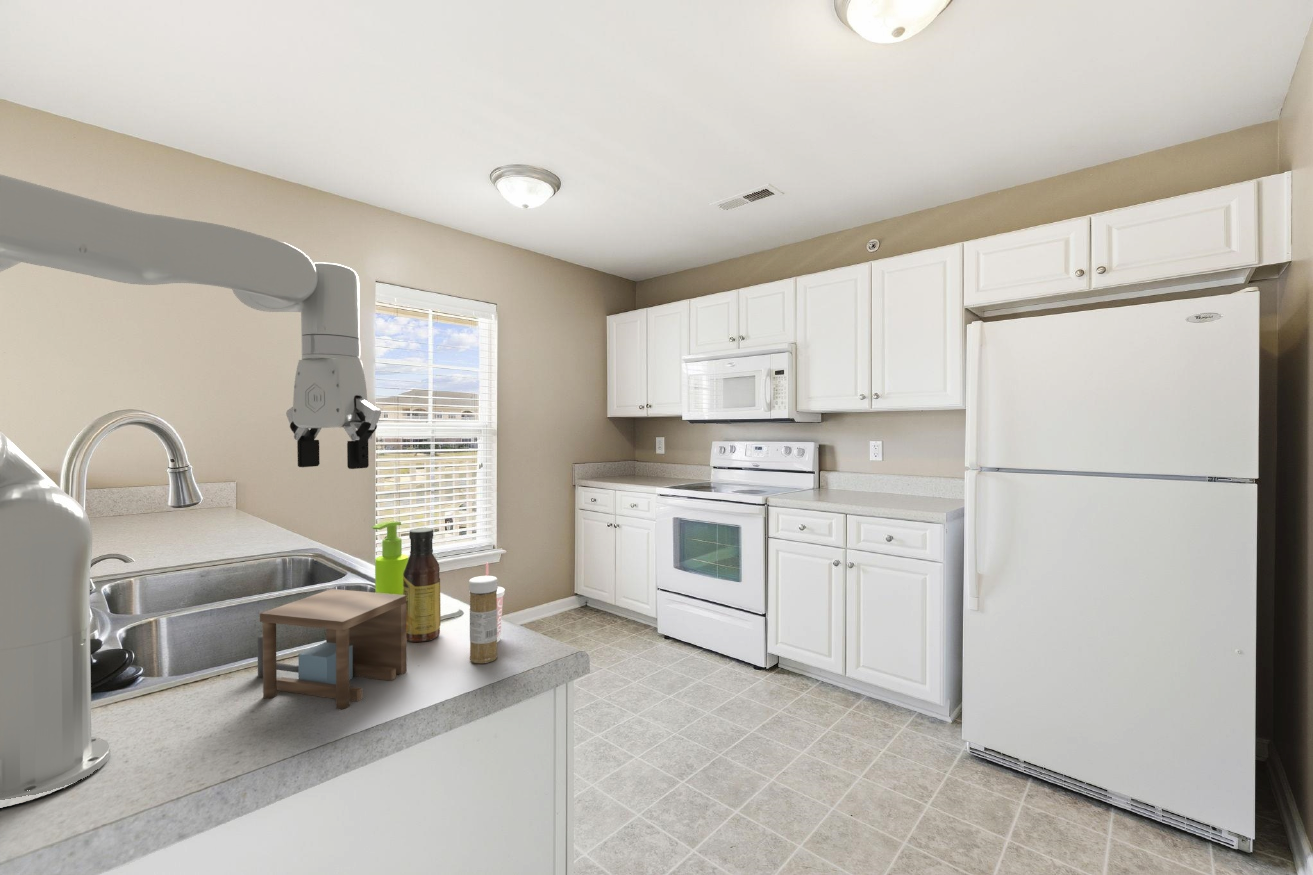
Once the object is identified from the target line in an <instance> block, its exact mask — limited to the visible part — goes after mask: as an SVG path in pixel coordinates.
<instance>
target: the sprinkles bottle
mask: <svg viewBox="0 0 1313 875" xmlns="http://www.w3.org/2000/svg"><path fill="white" fill-rule="evenodd" d="M498 582H499V581H498V578H497V577H496V576H493V575H489V576H486V575H480V576H474V577H472V578H470V579H469V580H468V592H470V594H469V647H470V648H469V650H470V651H469V661H471V662H472V663H473V664H488V663H491V662H493V661H495V660H497V658H498V656H499V655H498V642H497V589H498Z"/></svg>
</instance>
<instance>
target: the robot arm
mask: <svg viewBox="0 0 1313 875" xmlns="http://www.w3.org/2000/svg"><path fill="white" fill-rule="evenodd" d="M21 263H24V264H30V265H35V266H39V267H46V268H50V269H57V270H61V271H66V272H70V273H76V274H81V275H85V276H90V277H93V278H99V279H103V280H109V281H112V282H117V283H124V284H128V285H129V284H130V285H143V286H158V285H169V284H194V285H205V286H212V287H219V288H224V289H225V288H226V289H231V290H232V292H233V294H234V296H235V297H236V298H237V299H238V301H240V302H241V303H242V304H243V305H246V306H247V307H249V308H251V309H253V310H256V311H261V312H266V313H267V312H269V313H271V312H272V313H283V312H284V313H300V320H301V321H300V325H301V326H300V327H301V332H300V333H301V359H298V362H297V367H296V370H295V372H296V373H295V377H294V384H293V385H294V386H293V387H294V388H293V398H292V399H293V401H292V407H290V408H289V409H288V410H286V418H287V420H288V422H289V428H290V430H291V431H292V433H293V434H294V435H293V439H294V440H295V441H296V443H297V444H296V445H297V446H296V448H297V451H296V452H297V467H298V468H309V467H311V468H312V467H318V466H320V440H319V439H316V438H317V436H318V435H319V433H320V432H321V429H322V428H323V429H325V428H333V429H334V428H343V430H344V431H345V432H346V433H347V435H348V437H349V438H350V440H347V443H346V448H347V450H346V451H347V452H346V457H347V459H346V460H347V468H348V469H349V470H356V469H366V468H368V467H369V464H370V463H369V441H371V440H372V439H373V434H374V433H375V431H376V430H377V428H378V422H379V420H380V418H381V415H382V411H381V410H380V408H377V407H376V406H374V405H373V404H372V403H370V402H368V393H367V392H368V391H367V390H368V389H367V383H366V382H367V381H366V375H365V374H366V373H365V369H364V365H363V360H361V341H360V339H361V337H360V333H361V332H360V330H361V329H360V327H361V325H360V323H361V322H360V321H361V320H360V278H359V276H358V274H357V272H356V271H355V270H354V269H352V268H350V267H349V266H345V265H342V264H339V263H331V262H313V261H312V259H310V257H309V256H308V255H306V253H305V252H303V251H302V250H300V249H298V248H297V247H295V246H293V245H291V244H289V243H287V242H284V241H281V240H278V239H274V238H271V237H268V236H263V235H260V234H257V233H254V232H251V231H247V230H243V229H240V228H235V227H232V226H227V225H223V224H217V223H210V222H205V221H200V220H192V219H185V218H179V217H173V216H167V215H162V214H161V215H159V214H153V213H146V212H142V211H141V212H140V211H135V210H133V209H132V210H131V209H128V208H123V207H121V206H117V205H114V204H110V203H106V202H103V201H98V200H94V199H92V198H88V197H84V196H81V195H77V194H74V193H70V192H65V191H62V190H58V189H55V188H51V187H47V186H43V185H41V184H37V183H33V182H31V181H26V180H23V179H18V178H15V177H12V176H8V175H4V174H0V273H1V272H4V271H7V270H8V269H10V268H12V267H14V266H16V265H18V264H21ZM92 555H93V530H92V525H91V522H90V519H89V516H88V513H87V511H86V510H85V509H84V507H83V506H82V505H81V504H80V502H78V501H77V500H76V499H75V498H74V497H72V496H71V495H69V494H68V493H67V492H65V491H64V490H63V489H62V488H61V487H60V486H59V485H58V484H56V482H54V480H52V479H51V478H50V476H48V475H47V474H46V473H45V472H44V471H43V470H42V469H41V468H40V467H39V466H37V464H36V463H35V462H33V460H31V459H30V458H29V457H28V456H27V455H26V454H25V453H24V452H23V451H22V450H21V449H20V448H19V447H18V446H17V445H16V444H15V443H13V441H12V440H10V438H9V437H7V435H6V434H4V432H2V431H1V430H0V800H5V799H11V798H16V797H22V796H26V795H28V796H29V795H36V794H39V793H43V792H47V791H51V790H53V789H56V788H60V787H64V786H65V785H69V784H71V783H74V782H76V781H78V780H80V779H82V780H84V779H86V778H88V777H90V776H91V775H93V774H94V773H95V772H96V771H95V770H97V769H98V770H99V769H100V768H102V767H103V766H104V765H105V764H106V763H107V762H108V760H109V758H110V755H111V745H110V742H109V741H107V740H106V739H103V738H100V737H94V736H92V687H91V686H92V684H91V683H92V680H91V675H92V674H91V673H92V672H91V670H92V669H91V624H90V623H91V616H90V615H91V611H90V610H91V607H90V605H91V604H90V602H91V600H90V598H91V597H90V591H91V588H90V586H91V570H92V569H91V567H92V566H91V565H92ZM98 770H97V771H98ZM94 771H95V772H94ZM93 772H94V773H93ZM90 774H91V775H90ZM87 776H88V777H87ZM85 777H86V778H85ZM83 778H84V779H83ZM27 790H28V791H27ZM29 790H30V791H29Z"/></svg>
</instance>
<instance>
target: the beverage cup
mask: <svg viewBox="0 0 1313 875" xmlns="http://www.w3.org/2000/svg"><path fill="white" fill-rule="evenodd" d="M489 567H490V566H489V562H485V576H490V575H489V573H490V572H489ZM505 590H506V589H505V588H504V587H502V586H498V589H497V643H499V641H501V634H502V631H501V630H502V619H503V616H502V615H503V604H504V603H503V601H504V595H505ZM468 592H469V595H470V591H468Z"/></svg>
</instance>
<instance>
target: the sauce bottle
mask: <svg viewBox="0 0 1313 875" xmlns="http://www.w3.org/2000/svg"><path fill="white" fill-rule="evenodd" d="M408 536H409V539H410V551H409V555H408V557H409V559H408V562H407V565H406V568H405V570H404V573H403V595H406V641H408V642H414V643H419V642H421V643H422V642H429V641H432V640H434V639H436V638H438V637H439V636H440V634H441V618H442V617H441V615H442V614H441V578H440V564H439V561H438V560H437V558H436V557H435V556H434V554H433V553H434V552H433V551H434V549H433V538H434V528H431V527H417V528H412V529H410V530H409V534H408Z"/></svg>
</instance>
